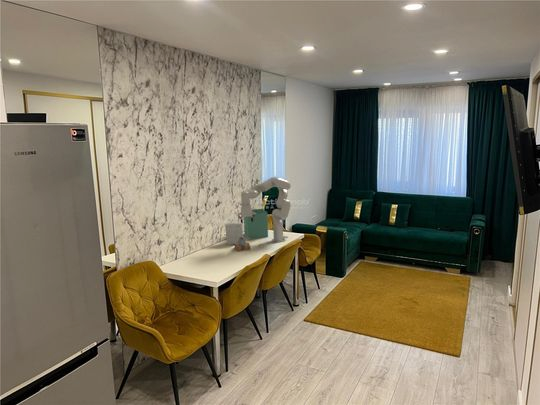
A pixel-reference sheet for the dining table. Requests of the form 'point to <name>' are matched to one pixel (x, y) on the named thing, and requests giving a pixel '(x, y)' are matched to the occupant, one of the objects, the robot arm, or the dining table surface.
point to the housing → (242, 241)
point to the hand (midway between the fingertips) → (247, 222)
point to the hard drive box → (233, 232)
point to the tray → (242, 247)
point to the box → (256, 225)
